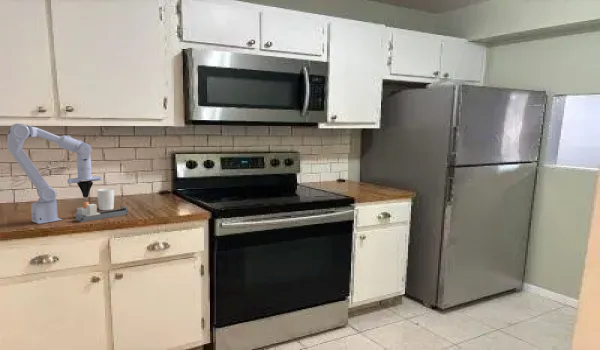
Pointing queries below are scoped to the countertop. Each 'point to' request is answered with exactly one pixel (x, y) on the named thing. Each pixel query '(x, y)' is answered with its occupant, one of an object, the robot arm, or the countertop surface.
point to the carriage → (91, 210)
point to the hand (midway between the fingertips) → (85, 197)
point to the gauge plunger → (85, 205)
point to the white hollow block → (82, 211)
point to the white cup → (105, 199)
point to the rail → (103, 214)
